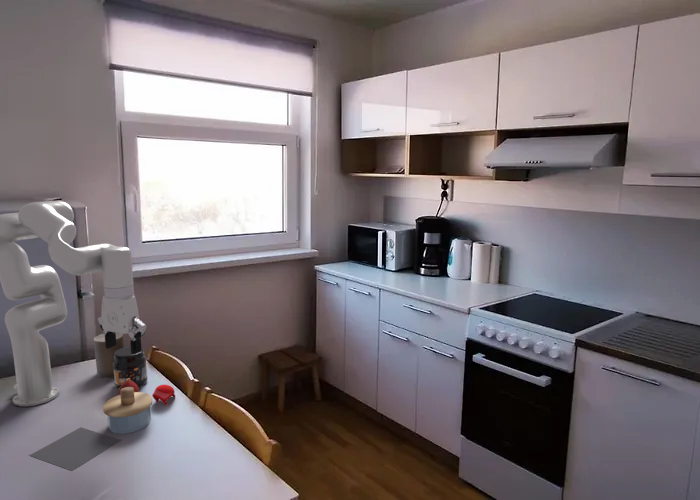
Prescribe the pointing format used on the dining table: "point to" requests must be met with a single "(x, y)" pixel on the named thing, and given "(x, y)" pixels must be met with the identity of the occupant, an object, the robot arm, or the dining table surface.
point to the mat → (75, 448)
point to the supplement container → (129, 367)
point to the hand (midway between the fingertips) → (123, 349)
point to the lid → (127, 403)
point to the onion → (129, 385)
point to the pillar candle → (106, 355)
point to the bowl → (129, 422)
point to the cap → (163, 393)
